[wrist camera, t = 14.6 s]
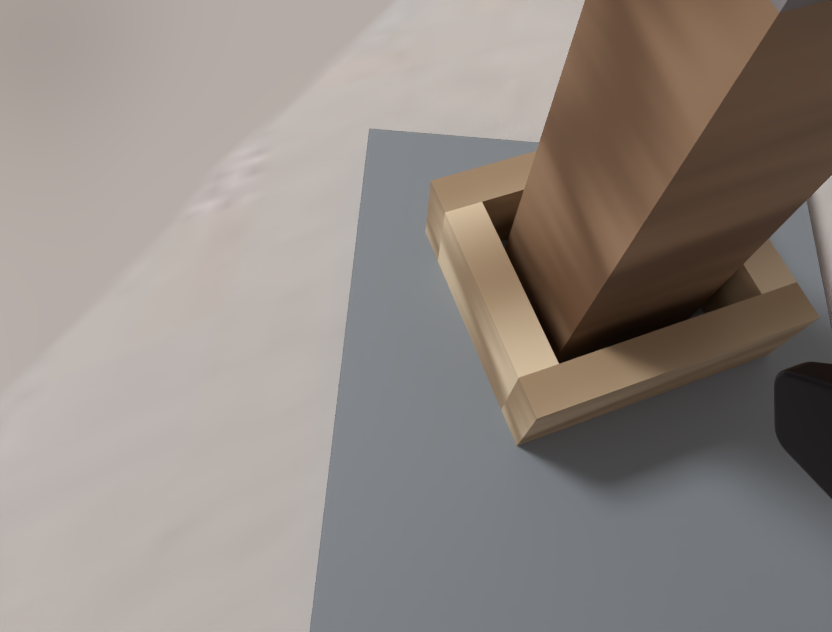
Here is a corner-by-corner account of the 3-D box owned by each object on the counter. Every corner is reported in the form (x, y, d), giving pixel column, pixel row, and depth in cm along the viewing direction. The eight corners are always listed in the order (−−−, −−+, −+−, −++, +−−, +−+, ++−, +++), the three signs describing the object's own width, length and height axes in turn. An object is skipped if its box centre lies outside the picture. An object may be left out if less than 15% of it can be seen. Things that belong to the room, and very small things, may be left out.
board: (785, 179, 27) (799, 164, 26) (876, 676, 20) (900, 679, 19) (369, 145, 27) (369, 128, 26) (312, 635, 20) (309, 635, 19)
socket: (766, 355, 23) (820, 317, 20) (516, 445, 21) (536, 418, 18) (652, 164, 25) (684, 109, 23) (425, 231, 24) (430, 180, 21)
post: (686, 321, 23) (1106, -103, 10) (549, 369, 22) (803, -26, 9) (630, 222, 24) (927, -263, 11) (500, 263, 24) (653, -211, 10)
